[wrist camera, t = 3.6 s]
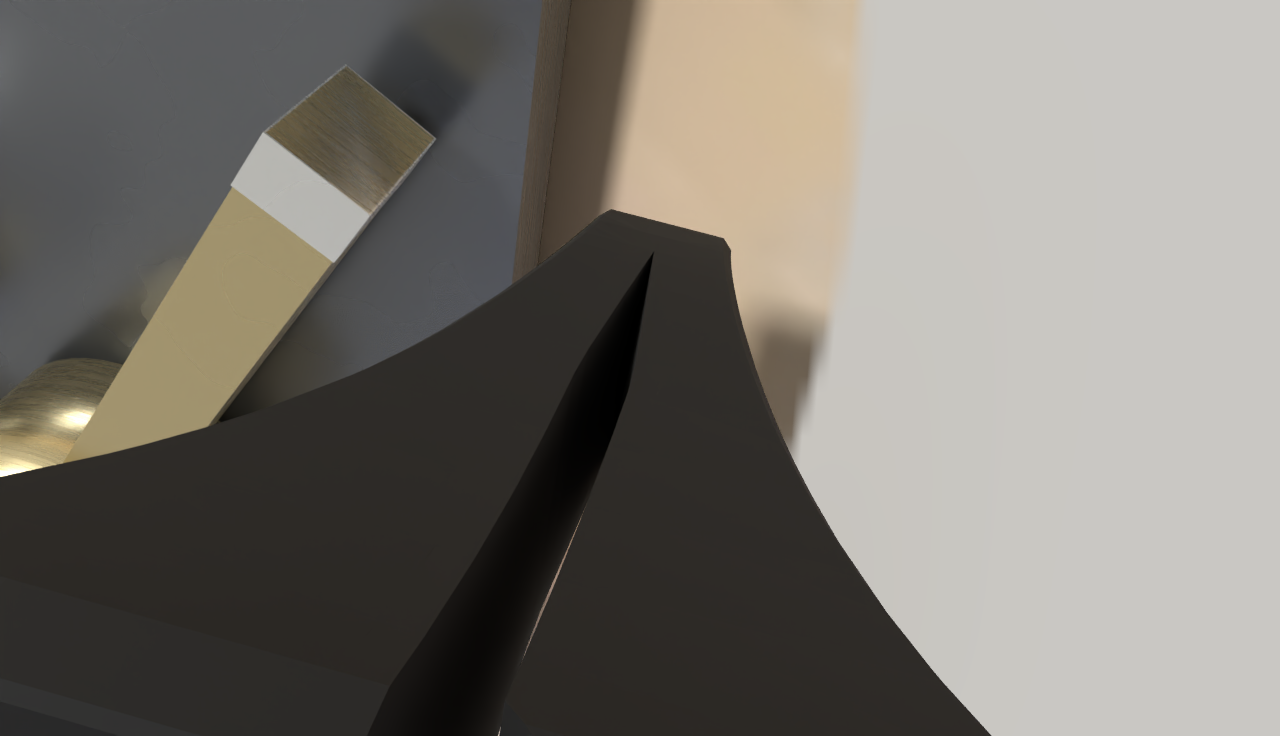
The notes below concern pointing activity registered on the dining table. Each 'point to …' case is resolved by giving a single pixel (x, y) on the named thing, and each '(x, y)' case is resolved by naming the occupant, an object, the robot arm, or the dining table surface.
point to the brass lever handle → (228, 284)
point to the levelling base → (221, 142)
